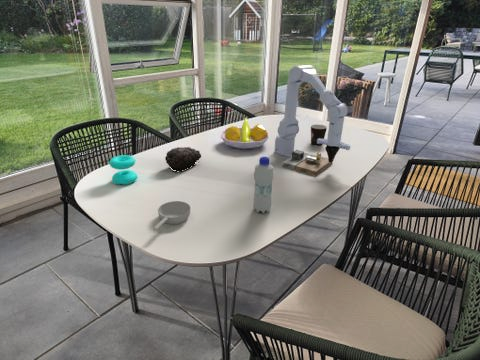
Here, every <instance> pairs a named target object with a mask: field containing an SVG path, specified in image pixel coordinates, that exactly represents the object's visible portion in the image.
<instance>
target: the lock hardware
mask: <svg viewBox="0 0 480 360" xmlns="http://www.w3.org/2000/svg"><path fill="white" fill-rule="evenodd" d="M304 153H305V151H304V150H300V149H294V152H292V156H291V157H292V159H295V160H300V158H304ZM314 158H315V157H314ZM307 163H310V164H314V160H311V159H307Z"/></svg>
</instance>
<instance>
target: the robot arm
mask: <svg viewBox="0 0 480 360" xmlns="http://www.w3.org/2000/svg"><path fill="white" fill-rule="evenodd" d="M303 83H308V84H310V85H311V86H312V88H313V89H314V90H315V91H316V92H317V93H318V94H319V100H320V102H321V103H322V105H324V107H325V108H326V110H327V116H328V121H329V124H328V129H327V130H328V131H327V137H326V138H327V139H325V138H324V139H320V138H319V139H317V144H323V145H325V148H324V149H325V151H326V154H327V158H328V161H329V162H331V163H332V164H333V162H334V160H335V157H336V155H337V154H338V152H339V151H340V149H343V150H346V151H350V150H351V144H348V143H345V142H343V141H342V134H343V128H344V122H345V117H346V116H347V115H348V113H349V108H348V106H347V104H346V103H344V102H342V101H341V100H339V99H338V97H336V95H335V92H334V91H333V90H331V89H327V88H326V86H325V85H324V83H323V82H322V81H321V79H320V78H319V75H318V74H317V70H316V69H315V67H314V66H313V65H311V64H306V65H305V64H304V65H294V66H293V67H292V68H290V69H289V75H288V78H287V83H286V94H285V103H284V104H285V105H284V107H285V108H284V116H283V118H282V119H281V120H280V121H279V126H278V128H277V136H276V137H275V139H274V151H273V153H274V154H277V155H281V156H285V157H288V158H291V157H292V152H294V151H295V141H296V140H295V139H296V137H297V135H298V133H299V131H300V126H299V120H298V119H297V118H296V117H297V108H298V98H299V88H300V86H301V84H303Z"/></svg>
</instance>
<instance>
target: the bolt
mask: <svg viewBox="0 0 480 360" xmlns="http://www.w3.org/2000/svg"><path fill="white" fill-rule="evenodd" d="M321 157H322V153H321V152H316V158H314V157H310V156H306V158H305V160H306V161H307V159H311V160H314V163H317V164H320V163H321Z"/></svg>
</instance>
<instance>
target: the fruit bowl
mask: <svg viewBox="0 0 480 360" xmlns="http://www.w3.org/2000/svg"><path fill="white" fill-rule="evenodd" d="M220 138H221V139H222V141H223V142H224V143H225V145H226V146H229V147H232V148H236V149H237V150H238V149H239V150H243V149H244V150H245V149H247V150H248V149H255V148H258V147H262V146H263V145H264V144H266V142H267V140H269V138H270V135H269V132H268V131H267V129H266V128H265V127H264V126H263V125H262V124H256V125H254V127H252V128H251V127H250V125H249V122H248V119H247V117H244V121H243V123H242V126H241V127H237V126H234V125H231V126H229V127H228V128H225V130H223V131H221V133H220Z"/></svg>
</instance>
